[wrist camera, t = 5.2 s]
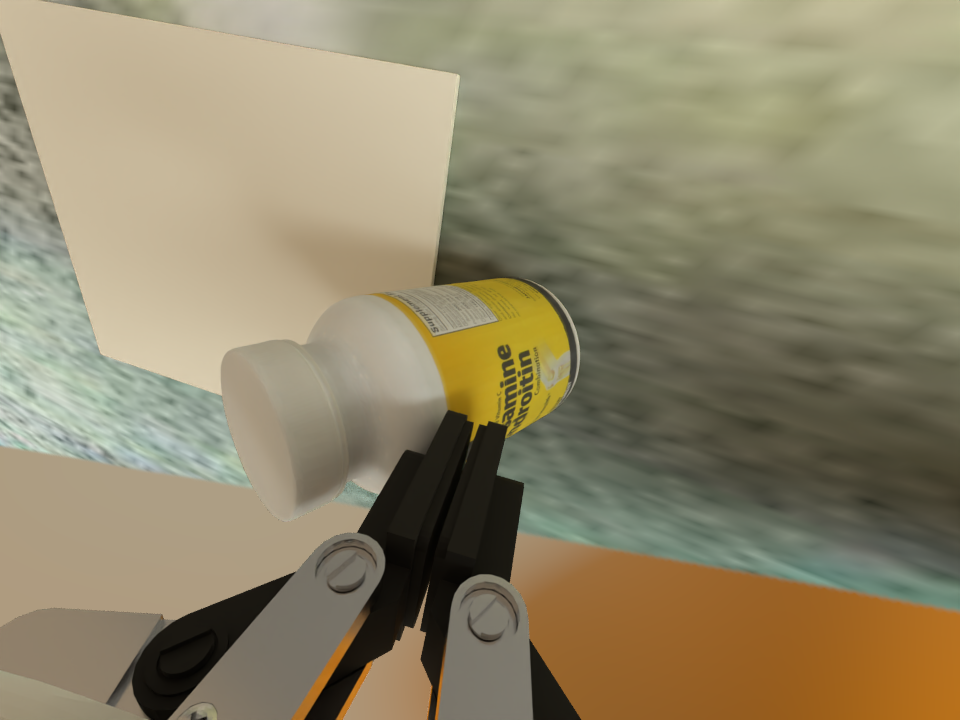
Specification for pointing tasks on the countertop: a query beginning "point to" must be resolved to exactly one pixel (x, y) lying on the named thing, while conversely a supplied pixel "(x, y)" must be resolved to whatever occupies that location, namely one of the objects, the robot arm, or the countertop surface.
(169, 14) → the countertop surface
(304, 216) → the mat
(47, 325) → the countertop surface
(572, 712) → the robot arm
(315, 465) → the pill bottle
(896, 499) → the countertop surface
